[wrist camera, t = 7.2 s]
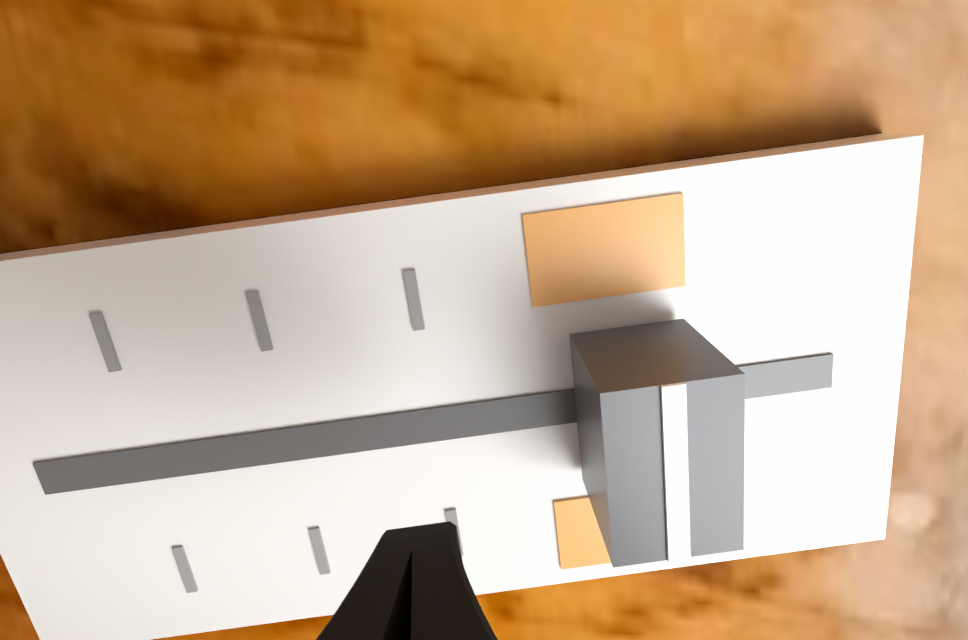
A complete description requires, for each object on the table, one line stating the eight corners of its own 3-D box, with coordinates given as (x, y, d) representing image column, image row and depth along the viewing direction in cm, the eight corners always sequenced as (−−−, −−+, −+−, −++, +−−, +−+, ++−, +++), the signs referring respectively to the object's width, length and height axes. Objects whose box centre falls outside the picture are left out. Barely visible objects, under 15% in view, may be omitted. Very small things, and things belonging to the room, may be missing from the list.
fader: (687, 464, 17) (745, 552, 14) (582, 478, 17) (614, 570, 14) (683, 318, 16) (747, 376, 13) (569, 334, 16) (601, 395, 13)
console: (855, 509, 20) (887, 541, 19) (74, 616, 20) (44, 656, 19) (883, 133, 17) (927, 135, 15) (-77, 264, 17) (-131, 279, 15)
